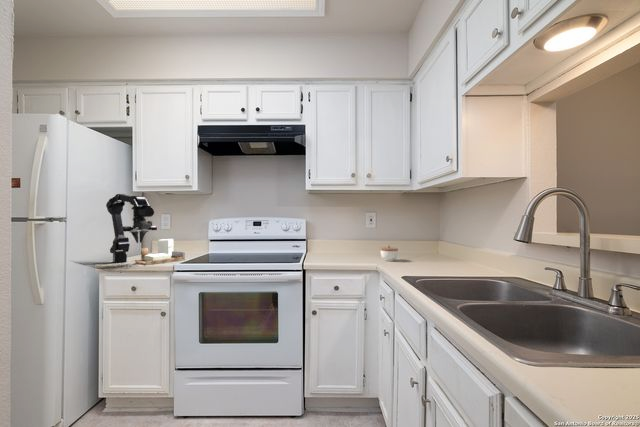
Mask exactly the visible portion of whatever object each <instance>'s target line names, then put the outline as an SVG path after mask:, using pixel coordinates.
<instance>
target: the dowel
mask: <svg viewBox="0 0 640 427" xmlns="http://www.w3.org/2000/svg"><path fill="white" fill-rule="evenodd" d="M140 248H141V249H140V250H141V252H140V253H141V254H140V255H141V257H140V258H141V259H144V255H149V248H148V247H140Z"/></svg>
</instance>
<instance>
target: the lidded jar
mask: <svg viewBox="0 0 640 427" xmlns="http://www.w3.org/2000/svg"><path fill="white" fill-rule="evenodd" d="M379 249H380V250H379V251H380V257H381V259H382V260H384V261H385V262H394V261H395V260H396V259H397V257H398V250H399V249H398V248H397V247H391V246H390V245H387V247H380V248H379Z"/></svg>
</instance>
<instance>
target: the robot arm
mask: <svg viewBox="0 0 640 427" xmlns="http://www.w3.org/2000/svg"><path fill="white" fill-rule="evenodd" d="M126 202H127V203H129V204H130V205H132V207H131V210H133V212H132V213H133V216H132V217H133V218H132V222H133V225H132V227H131V225H130V226H123V219H122V212H123V211H124V206H126ZM105 207H106V208H107V212H108V213H109V214H110V215H111V219H112V226H113V233H114V239H113V240H112V246H111V247H110V249H109V252H110V254H112V261H111V263H113V262H115V263H114V264H119V263H118V262H121V263H127V262H128V258H127V257H128V254H127V253H128V252H129V250H130V245H131V244H130V241H129V239H130V238H129V237H128V236H127V237H126V236H125V232H129V233H131V236H133V239H134V240H135V243H136V244H138V243H142V242H143V239H144V237H145V235H146V234H147V233H149V231H158V227H157V225H153V221H152V220H148V221H146V220H147V219H146V218H150V217H153V216H154V215H155V210H154V209H153V208H152V207H151V205H150V203H149V202H148V199H147V198H146V196H144V195H143V196H142V195H141V196H140V195H128V194H125V193H117V194H116V195H114V196H113V197H112V198H109V199H108V201H107V202H106V205H105ZM126 261H127V262H126Z"/></svg>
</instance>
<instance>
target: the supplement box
mask: <svg viewBox="0 0 640 427" xmlns="http://www.w3.org/2000/svg"><path fill="white" fill-rule="evenodd" d="M157 242H158V244H157V247H158V250H157V251H158V252H157V254H161V253H163V254H170V255H171V256H172V251H174V238H167V239H166V238H163V239H158V241H157Z"/></svg>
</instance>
